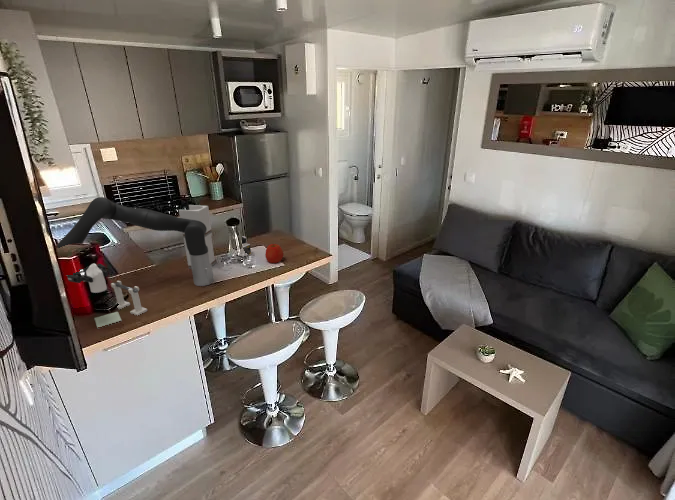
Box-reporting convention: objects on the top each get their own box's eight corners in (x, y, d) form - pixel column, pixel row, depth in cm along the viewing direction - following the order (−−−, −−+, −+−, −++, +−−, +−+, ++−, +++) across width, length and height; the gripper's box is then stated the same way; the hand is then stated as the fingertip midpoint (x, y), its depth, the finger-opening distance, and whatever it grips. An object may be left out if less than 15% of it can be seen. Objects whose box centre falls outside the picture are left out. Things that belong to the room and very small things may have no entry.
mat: (118, 312, 162) (117, 311, 162) (121, 321, 156) (121, 320, 156) (94, 319, 157) (94, 318, 157) (97, 328, 151) (97, 327, 150)
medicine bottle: (243, 258, 220) (241, 240, 215) (234, 255, 223) (232, 237, 219) (251, 254, 225) (249, 236, 221) (243, 252, 229) (241, 234, 224)
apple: (287, 259, 218) (286, 243, 214) (275, 265, 210) (274, 249, 206) (274, 255, 224) (272, 240, 220) (261, 261, 215) (260, 245, 211)
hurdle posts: (113, 307, 167) (107, 283, 162) (123, 302, 171) (117, 279, 166) (137, 316, 160) (131, 291, 155) (147, 310, 164) (142, 287, 159)
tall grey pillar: (216, 262, 214) (208, 205, 200) (207, 270, 204) (198, 211, 191) (198, 261, 215) (189, 204, 202) (188, 268, 206) (178, 210, 192)
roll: (80, 266, 144) (88, 261, 149) (88, 293, 148) (96, 286, 153) (95, 266, 144) (103, 261, 149) (102, 292, 149) (110, 286, 154)
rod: (113, 286, 164) (112, 283, 163) (116, 284, 165) (115, 282, 164) (136, 293, 157) (135, 290, 157) (138, 292, 159) (138, 289, 158)
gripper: (54, 267, 147) (78, 275, 140) (89, 254, 159) (114, 262, 152) (59, 283, 150) (83, 292, 143) (94, 270, 162) (118, 278, 155)
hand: (99, 277), depth 147 cm, fingers closed on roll, 5 cm apart
